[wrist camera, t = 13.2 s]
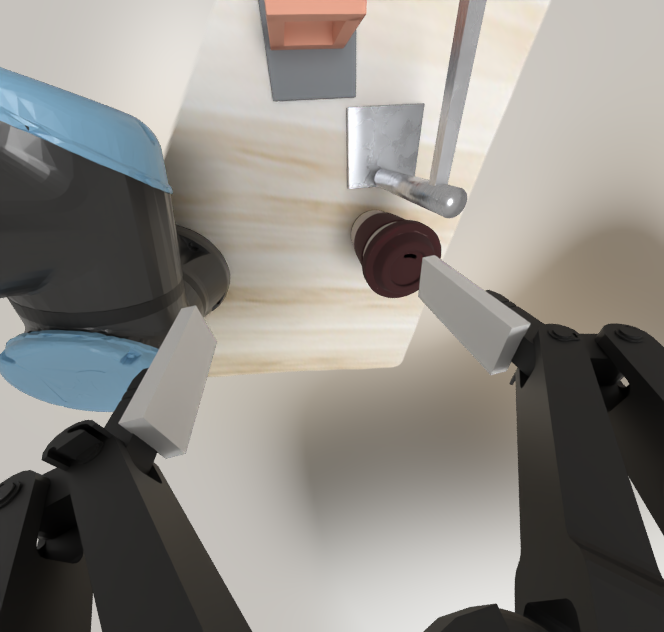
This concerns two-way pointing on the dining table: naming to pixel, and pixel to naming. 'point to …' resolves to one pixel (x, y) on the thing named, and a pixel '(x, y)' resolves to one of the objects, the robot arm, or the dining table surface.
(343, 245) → the dining table surface
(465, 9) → the stand
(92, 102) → the robot arm
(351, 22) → the link
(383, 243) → the coffee cup
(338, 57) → the coaster
